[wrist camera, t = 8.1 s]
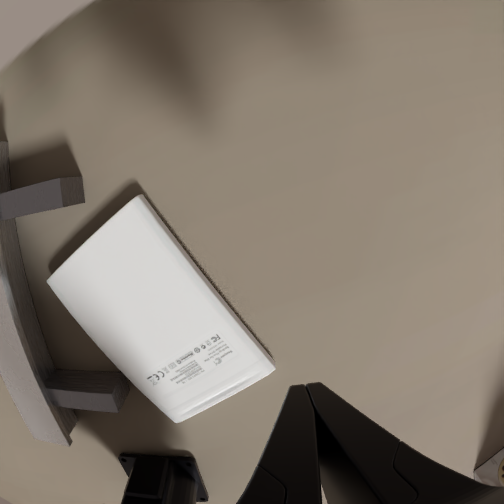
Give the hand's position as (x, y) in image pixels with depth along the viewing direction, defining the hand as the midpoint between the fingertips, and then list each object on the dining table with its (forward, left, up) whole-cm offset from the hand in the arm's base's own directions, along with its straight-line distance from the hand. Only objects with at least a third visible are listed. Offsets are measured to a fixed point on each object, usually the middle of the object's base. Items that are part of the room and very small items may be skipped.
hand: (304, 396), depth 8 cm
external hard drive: (-2, +7, -11) cm, 13 cm away
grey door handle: (0, +15, -10) cm, 18 cm away
